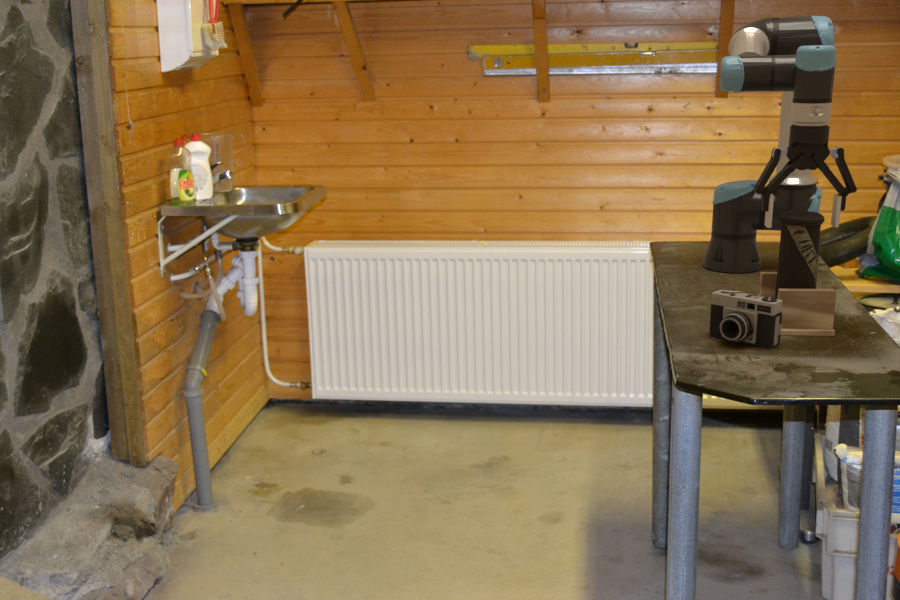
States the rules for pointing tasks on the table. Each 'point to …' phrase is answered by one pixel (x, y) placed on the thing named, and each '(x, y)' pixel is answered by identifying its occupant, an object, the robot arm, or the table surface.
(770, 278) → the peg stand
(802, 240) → the container
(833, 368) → the table surface
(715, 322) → the camera
